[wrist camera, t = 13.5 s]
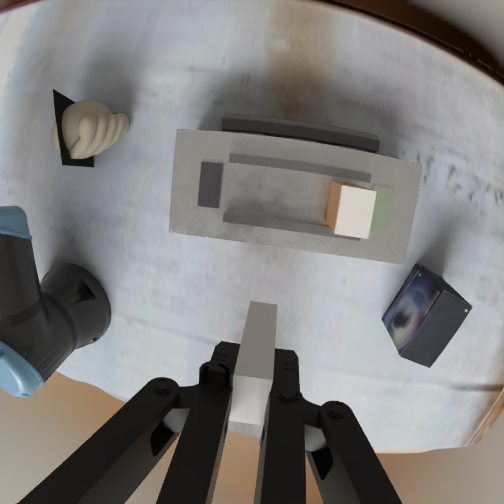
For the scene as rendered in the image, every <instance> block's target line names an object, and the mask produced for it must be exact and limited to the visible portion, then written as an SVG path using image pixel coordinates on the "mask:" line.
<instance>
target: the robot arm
mask: <svg viewBox="0 0 504 504" xmlns="http://www.w3.org/2000/svg"><path fill="white" fill-rule="evenodd" d="M31 239H32V236H31V235H30V232H29V227H28V222H27V216H26V213H25V211H24V210H23V209H22V208H20V207H19V206H2V207H0V387H1V388H2V389H4V390H5V391H6V392H8V393H10V394H12V395H14V396H17V397H28V396H30V395H31V394H32V393H33V392H34V391H35V390H37V389H38V388H39V387H41V386H43V384H44V382H45V381H46V380H47V379H48V378H49V377H50V376H51V375H52V374H53V372H54V371H55V370H56V369H57V368H58V367H59V366H60V365H61V364H62V363H63V362H64V360H65V359H66V358H67V357H68V356H69V355H70V354H71V353H72V352H73V351H74V350H76V349H78V348H81V347H84V346H86V345H88V344H91V343H94V342H96V341H97V340H98V339H100V337H101V336H102V335H103V334H104V333H105V332H106V331H107V329H108V327H109V324H110V319H111V312H110V306H109V302H108V299H107V296H106V294H105V292H104V290H103V288H102V287H101V285H100V284H99V282H98V281H97V280H96V279H95V278H94V277H93V276H92V275H91V274H90V273H89V272H88V271H86V270H85V269H83V268H82V267H80V266H77V265H75V264H69V263H65V264H61V265H58V266H56V267H55V268H53V269H51V270H50V271H49V272H48V273H47V274H46V275H45V276H44V278H43V279H42V282H41V283H39V279H38V274H37V269H36V264H35V259H34V253H33V247H32V241H31ZM276 318H277V305H275V304H268V303H260V302H253V301H250V306H249V310H248V314H247V319H246V323H245V327H244V332H243V336H242V340H241V344H236V343H230V342H224V341H221V342H220V343H219V344H218V345H216V346H215V349H214V352H213V355H212V358H211V360H210V361H209V362H206V363H204V364H202V365H201V367H200V370H199V384H197V385H194V386H187V387H179V385H178V384H177V383H176V382H175V381H174V380H172V379H170V378H166V377H158V378H155V379H152V380H151V381H149V382H148V383H147V384H146V385H145V386H144V387H143V388H142V389H141V390H140V391H139V392H138V393H137V394H135V395H134V396H133V397H132V398H131V399H130V400H129V401H128V402H127V403H126V404H125V405H124V406H123V407H122V408H121V409H120V410H119V411H118V412H117V413H116V414H114V416H112V417H111V418H110V419H109V420H108V421H107V422H106V423H105V424H104V425H103V426H102V427H101V428H100V429H99V430H97V431H96V432H95V433H94V434H93V435H92V436H91V437H90V438H89V439H88V440H87V441H86V442H85V443H84V444H82V445H81V446H80V447H79V448H78V449H77V450H76V451H75V452H74V453H73V454H72V455H71V456H70V457H69V458H67V459H66V460H65V461H64V462H63V463H62V464H61V465H60V466H59V467H57V468H56V469H55V470H54V471H53V472H52V473H51V474H50V475H49V476H48V477H46V478H45V479H44V480H43V481H42V482H41V483H40V484H39V485H38V486H37V487H35V488H34V489H33V490H32V491H31V492H30V493H29V494H28V495H26V496H25V497H24V498H23V499H22V500H21V501H20V502H18V503H17V504H124V503H125V502H126V501H127V500H128V498H129V497H130V496H131V495H132V494H133V492H134V491H135V490H136V489H137V488H138V486H139V485H140V484H141V483H142V481H143V480H144V479H145V478H146V476H147V475H148V474H149V473H150V471H151V470H152V469H153V468H154V466H155V465H156V464H157V463H158V461H159V460H160V459H161V458H162V456H163V455H164V454H165V453H166V451H167V450H168V449H169V447H170V446H171V445H172V443H173V442H174V441H175V440H176V438H177V437H178V436H179V434H180V432H181V435H180V438H179V440H178V444H177V446H176V449H175V452H174V454H173V457H172V460H171V463H170V466H169V468H168V472H167V474H166V477H165V480H164V483H163V485H162V488H161V491H160V494H159V496H158V499H157V502H156V504H211V503H212V498H213V494H214V489H215V484H216V480H217V476H218V471H219V466H220V462H221V457H222V452H223V447H224V443H225V438H226V434H227V429H228V421H235V422H242V423H249V424H256V425H263V430H262V435H261V439H260V443H259V445H260V453H259V463H258V472H257V480H256V488H255V496H254V504H306V468H305V450H306V454H307V457H308V460H309V463H310V466H311V469H312V471H313V474H314V477H315V480H316V483H317V485H318V488H319V491H320V494H321V497H322V500H323V502H324V504H402V503H401V500H400V499H399V497H398V495H397V493H396V491H395V489H394V487H393V485H392V483H391V482H390V480H389V478H388V476H387V474H386V472H385V470H384V469H383V467H382V465H381V463H380V461H379V459H378V458H377V456H376V454H375V452H374V450H373V448H372V446H371V444H370V443H369V441H368V439H367V437H366V435H365V433H364V432H363V430H362V428H361V426H360V424H359V422H358V421H357V419H356V417H355V415H354V413H353V411H352V410H351V408H350V407H349V406H348V405H346V404H345V403H343V402H339V401H329V402H326V403H324V404H323V405H322V406H319V405H316V404H313V403H311V402H309V401H307V400H305V399H304V398H303V396H302V393H301V392H300V384H299V365H298V364H299V363H298V356H297V355H296V353H295V352H294V351H293V350H285V349H277V348H275V337H276Z"/></svg>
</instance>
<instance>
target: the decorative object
mask: <svg viewBox="0 0 504 504" xmlns="http://www.w3.org/2000/svg"><path fill="white" fill-rule="evenodd" d="M53 95H54V107H55V116H56V121H55V123H54V126H53V130H52V140H53V143H54V146H55V148H56V150H57V151H58V152H59V153H60V154H61V159H62V165H68V166H84V167H94V165H93V159H92V155H98V154H100V153H101V152H102V151H105V150H107V149H109V148H110V147H111V146H113V145H114V144H115V143H116V142H117V141H118V140H119V139H120V138H121V136H122V135H123V134H126V133H127V132H128V130H129V118H128V116H127V115H126V114H125V113H117V114H112V113H111V111H110V109H109V108H108V107H107V106H106V105H104V104H103V103H100V102H98V101H93V100H84V101H80V102H76V103H75V102H74V101H72V100H70V99H69V98H67V97H66V96H64V95H62V94H61V93H59V92H57V91H56V90H54V89H53Z"/></svg>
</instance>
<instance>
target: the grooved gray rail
mask: <svg viewBox="0 0 504 504" xmlns="http://www.w3.org/2000/svg"><path fill="white" fill-rule="evenodd" d="M222 129H223V132H233V133H238V131H242V132H253V133H262V134H264V135H265V136H272V137H280V138H287V139H289V138H290V137H294V138H301V139H308V140H314V141H316V143H321V144H327V145H333V146H340V145H343V146H349V147H354V148H359V149H364V150H366V151H365V152H369V153H374V154H376V151H379V143H380V141H379V140H377V138H378V136H377V135H372V134H368V133H363V132H358V131H353V130H348V129H343V128H337V127H332V126H326V125H320V124H314V123H308V122H301V121H294V120H286V119H278V118H270V117H261V116H251V115H239V114H226V113H225V118H223V122H222Z"/></svg>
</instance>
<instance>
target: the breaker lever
mask: <svg viewBox="0 0 504 504" xmlns="http://www.w3.org/2000/svg"><path fill="white" fill-rule="evenodd" d="M375 198H376V191H374V190H371V189H368V188H365V187H363V186H360V185H355V184H349V183H344V182H338V181H332V180H331V186H330V192H329V199H328V206H327V212H326V218H325V221H326V222H327V224H328V225H329V227H330V228H331V229H332V231H333V232H334V234H338V235H345V236H351V237H358V238H364V239H368V236H369V231H370V226H371V221H372V215H373V210H374V204H375Z"/></svg>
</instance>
